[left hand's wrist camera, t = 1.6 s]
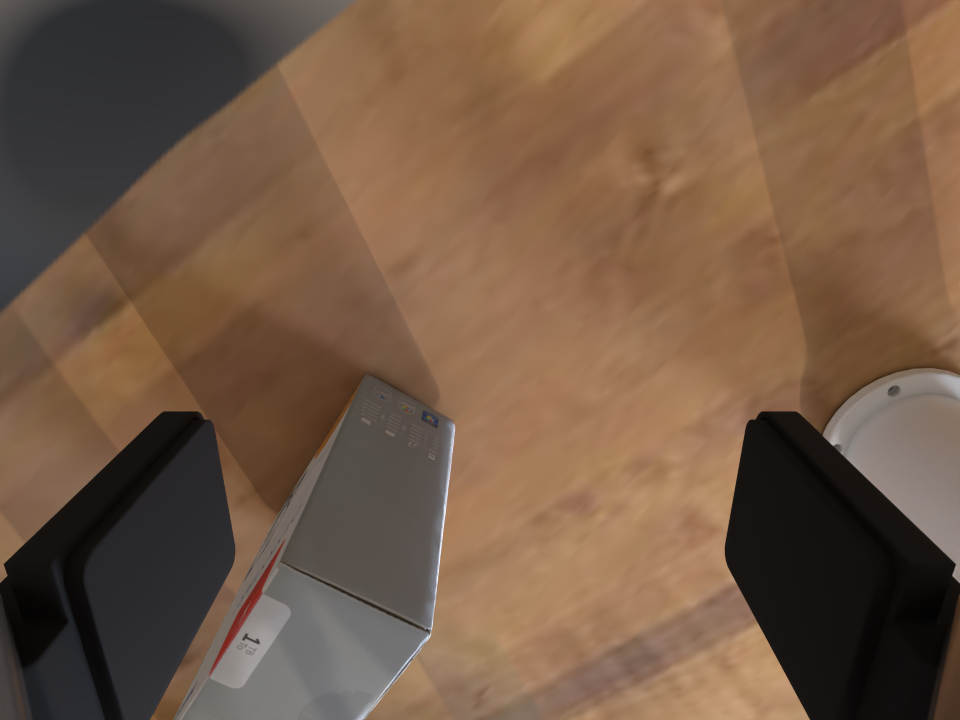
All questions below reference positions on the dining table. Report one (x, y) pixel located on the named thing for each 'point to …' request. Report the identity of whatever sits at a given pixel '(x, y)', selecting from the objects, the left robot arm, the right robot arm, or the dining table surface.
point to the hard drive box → (338, 573)
